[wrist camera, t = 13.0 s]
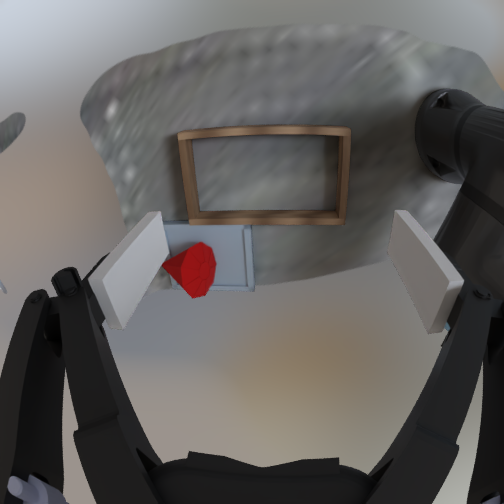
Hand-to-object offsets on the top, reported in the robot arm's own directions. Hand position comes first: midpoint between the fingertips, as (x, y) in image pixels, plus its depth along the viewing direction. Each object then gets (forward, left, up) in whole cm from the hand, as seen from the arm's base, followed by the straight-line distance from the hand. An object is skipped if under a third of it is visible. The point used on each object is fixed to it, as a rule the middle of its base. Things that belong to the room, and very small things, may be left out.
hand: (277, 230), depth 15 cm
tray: (+12, +18, -27) cm, 34 cm away
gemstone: (+15, +19, -26) cm, 35 cm away
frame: (+2, +4, -27) cm, 27 cm away
